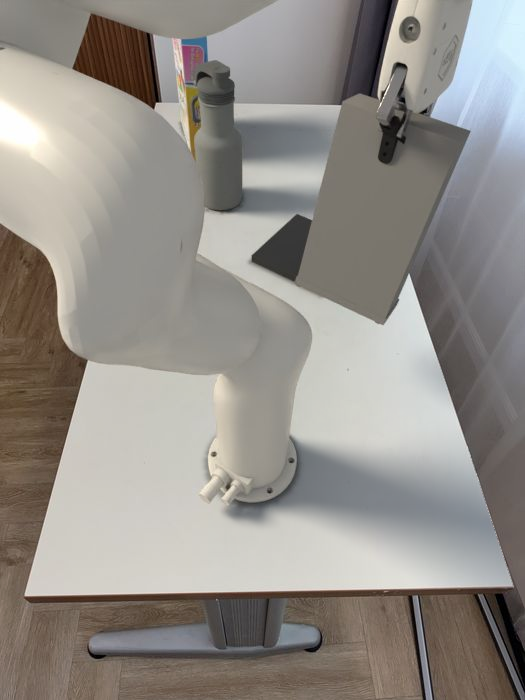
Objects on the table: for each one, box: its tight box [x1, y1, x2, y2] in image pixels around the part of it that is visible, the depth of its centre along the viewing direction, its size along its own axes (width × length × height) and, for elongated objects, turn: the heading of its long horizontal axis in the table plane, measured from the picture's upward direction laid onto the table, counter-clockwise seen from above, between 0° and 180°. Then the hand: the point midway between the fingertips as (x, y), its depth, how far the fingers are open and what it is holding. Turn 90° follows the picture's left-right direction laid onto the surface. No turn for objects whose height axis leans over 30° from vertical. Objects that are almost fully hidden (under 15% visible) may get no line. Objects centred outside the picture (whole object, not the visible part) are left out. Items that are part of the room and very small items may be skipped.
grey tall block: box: [294, 92, 472, 326], centre depth 64 cm, size 14×6×25 cm, turn 59°
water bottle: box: [190, 59, 243, 211], centre depth 102 cm, size 10×10×28 cm
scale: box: [251, 213, 312, 283], centre depth 100 cm, size 17×16×3 cm
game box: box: [171, 36, 209, 162], centre depth 119 cm, size 21×6×27 cm, turn 13°
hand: (396, 153), depth 59 cm, fingers closed on grey tall block, 4 cm apart
